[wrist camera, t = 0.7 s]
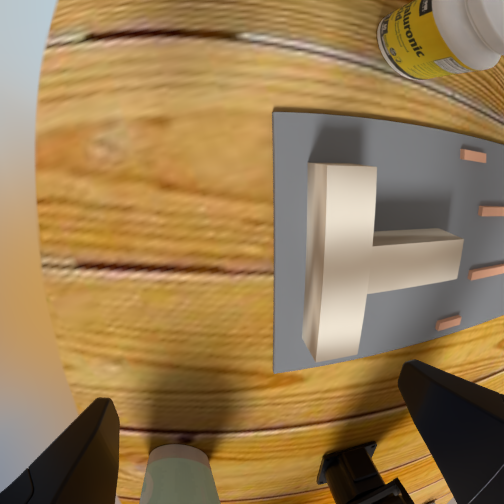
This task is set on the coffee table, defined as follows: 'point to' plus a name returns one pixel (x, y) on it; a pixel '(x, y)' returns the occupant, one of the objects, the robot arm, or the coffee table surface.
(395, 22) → the supplement bottle
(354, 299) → the t block
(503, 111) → the coffee table surface
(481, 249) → the mat
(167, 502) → the coffee cup
